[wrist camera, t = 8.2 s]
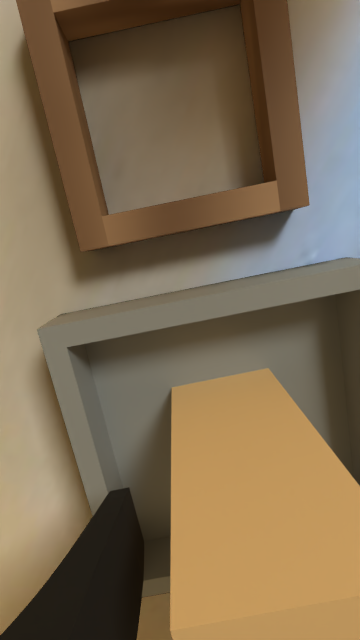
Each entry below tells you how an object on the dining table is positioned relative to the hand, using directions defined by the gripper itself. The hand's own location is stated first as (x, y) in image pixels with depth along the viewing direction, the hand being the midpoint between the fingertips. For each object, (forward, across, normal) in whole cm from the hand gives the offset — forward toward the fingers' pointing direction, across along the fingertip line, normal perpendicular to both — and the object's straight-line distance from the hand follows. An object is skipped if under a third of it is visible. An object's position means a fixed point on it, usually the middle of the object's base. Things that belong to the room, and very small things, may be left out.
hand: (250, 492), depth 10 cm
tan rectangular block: (+4, 0, 0) cm, 4 cm away
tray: (+5, 0, 0) cm, 5 cm away
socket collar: (+5, 0, -12) cm, 13 cm away
